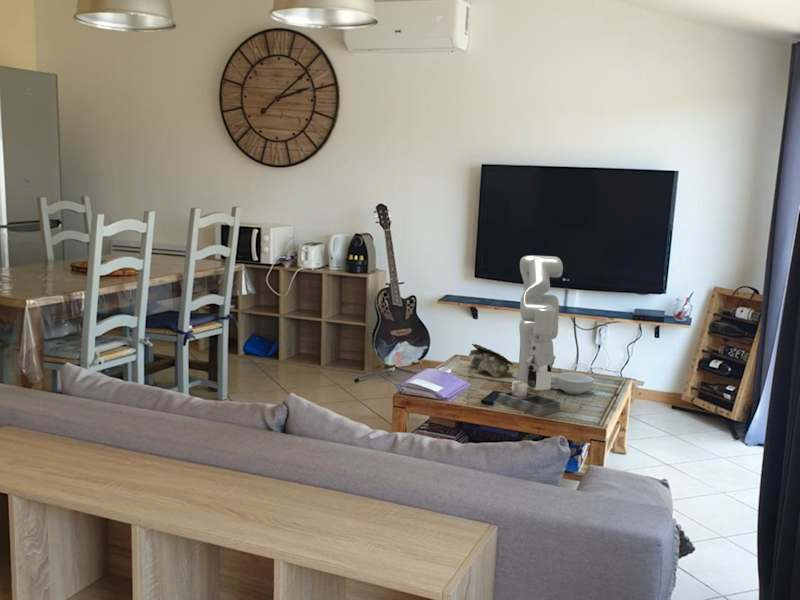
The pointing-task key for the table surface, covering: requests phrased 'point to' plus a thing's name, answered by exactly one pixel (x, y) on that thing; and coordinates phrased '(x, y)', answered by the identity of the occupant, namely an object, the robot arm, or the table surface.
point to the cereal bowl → (573, 382)
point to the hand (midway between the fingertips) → (539, 378)
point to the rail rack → (528, 400)
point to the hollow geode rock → (489, 361)
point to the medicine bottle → (540, 379)
